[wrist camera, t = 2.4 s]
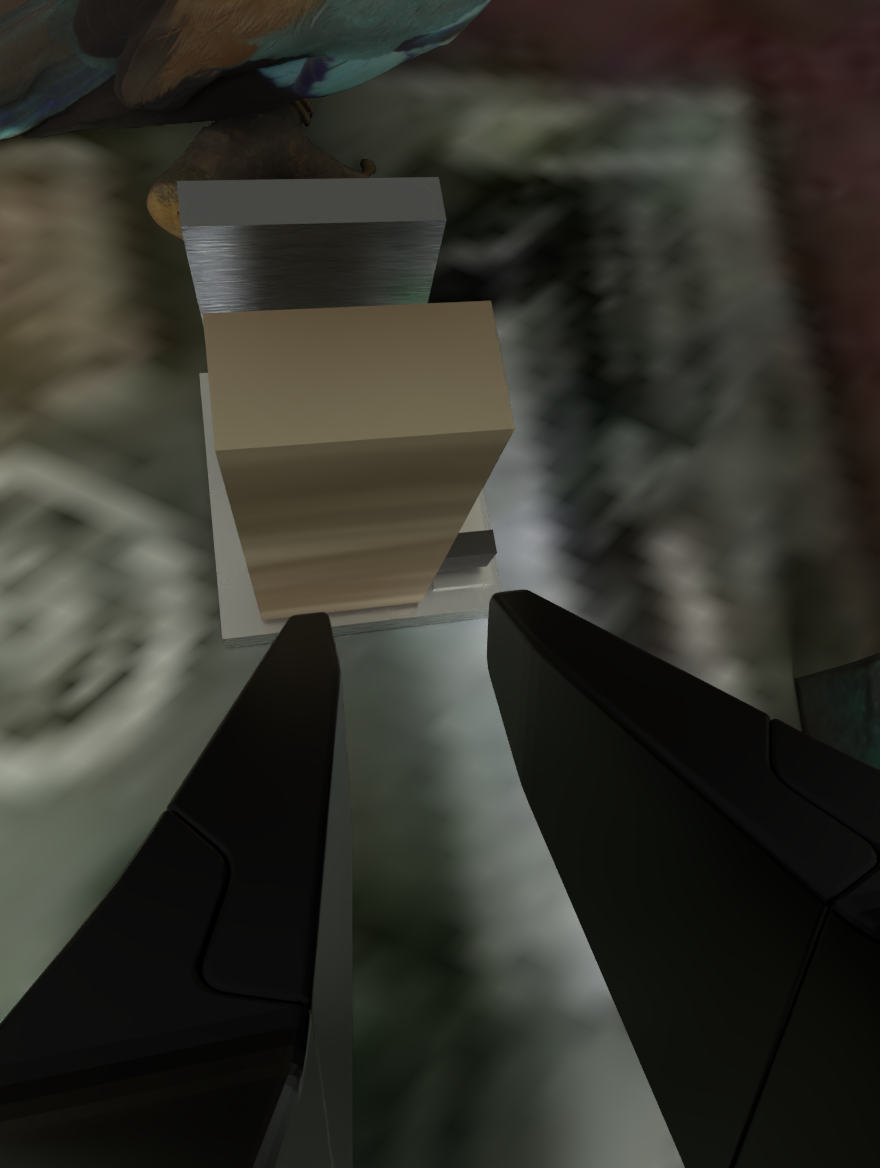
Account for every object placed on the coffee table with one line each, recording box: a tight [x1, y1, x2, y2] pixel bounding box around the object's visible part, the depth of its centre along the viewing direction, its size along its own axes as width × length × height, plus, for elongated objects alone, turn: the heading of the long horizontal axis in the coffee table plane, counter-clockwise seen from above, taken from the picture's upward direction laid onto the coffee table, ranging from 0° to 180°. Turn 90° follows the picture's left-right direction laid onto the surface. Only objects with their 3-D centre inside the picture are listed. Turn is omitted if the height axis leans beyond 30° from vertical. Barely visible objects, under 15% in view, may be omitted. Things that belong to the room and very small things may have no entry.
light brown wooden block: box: [203, 301, 515, 620], centre depth 16 cm, size 2×6×10 cm, turn 99°
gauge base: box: [177, 177, 501, 648], centre depth 19 cm, size 7×7×8 cm
